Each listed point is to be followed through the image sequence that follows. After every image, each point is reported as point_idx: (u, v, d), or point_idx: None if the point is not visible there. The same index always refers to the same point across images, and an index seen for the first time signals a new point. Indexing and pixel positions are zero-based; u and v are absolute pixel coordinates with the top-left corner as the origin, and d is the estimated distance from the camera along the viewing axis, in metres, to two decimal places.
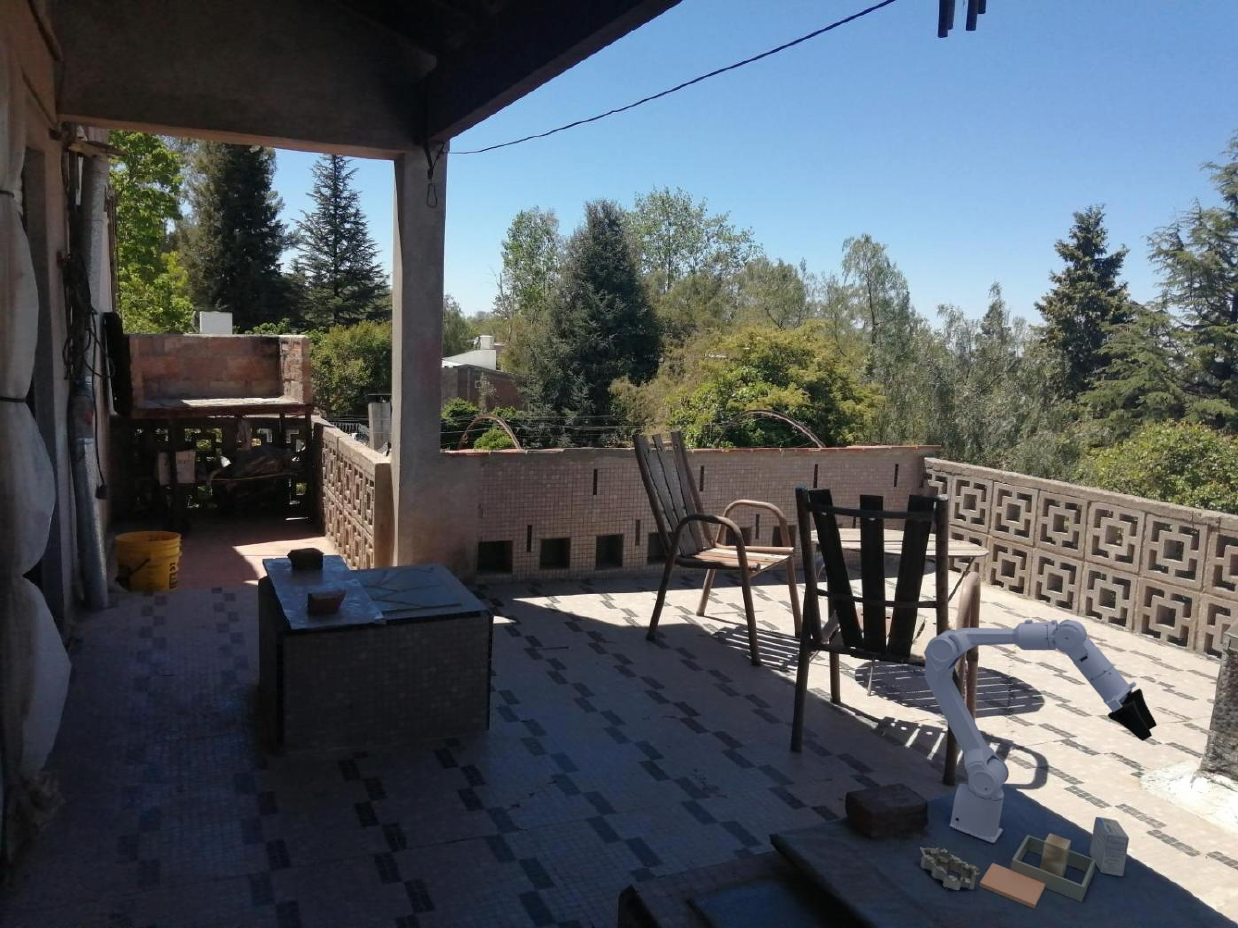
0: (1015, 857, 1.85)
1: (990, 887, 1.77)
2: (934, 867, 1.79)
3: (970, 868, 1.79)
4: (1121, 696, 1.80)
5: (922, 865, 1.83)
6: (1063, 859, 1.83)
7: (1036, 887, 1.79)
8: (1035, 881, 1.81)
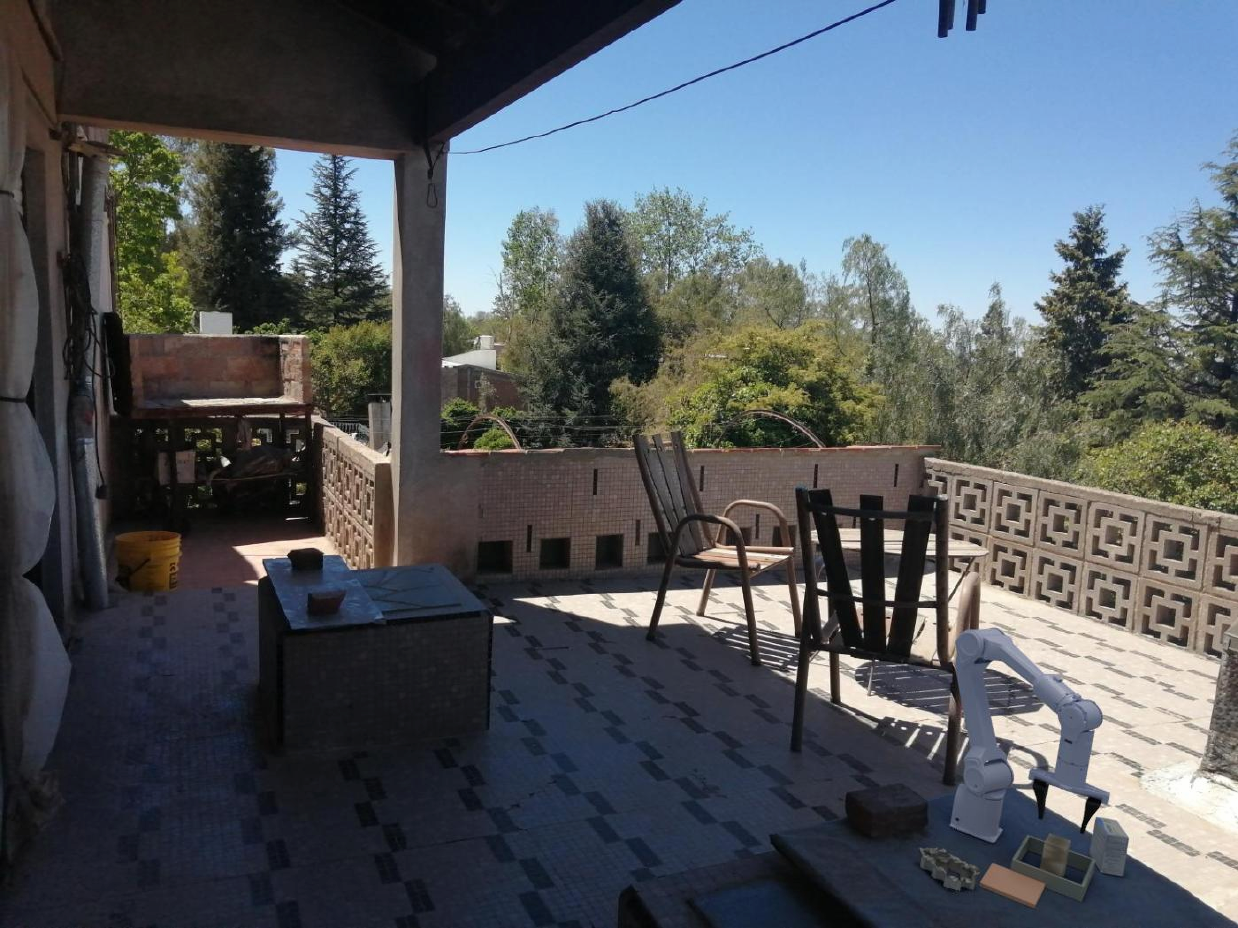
0: (1015, 857, 1.85)
1: (990, 887, 1.77)
2: (934, 867, 1.79)
3: (970, 868, 1.79)
4: (1042, 777, 1.85)
5: (922, 865, 1.82)
6: (1063, 859, 1.83)
7: (1036, 887, 1.79)
8: (1035, 881, 1.81)
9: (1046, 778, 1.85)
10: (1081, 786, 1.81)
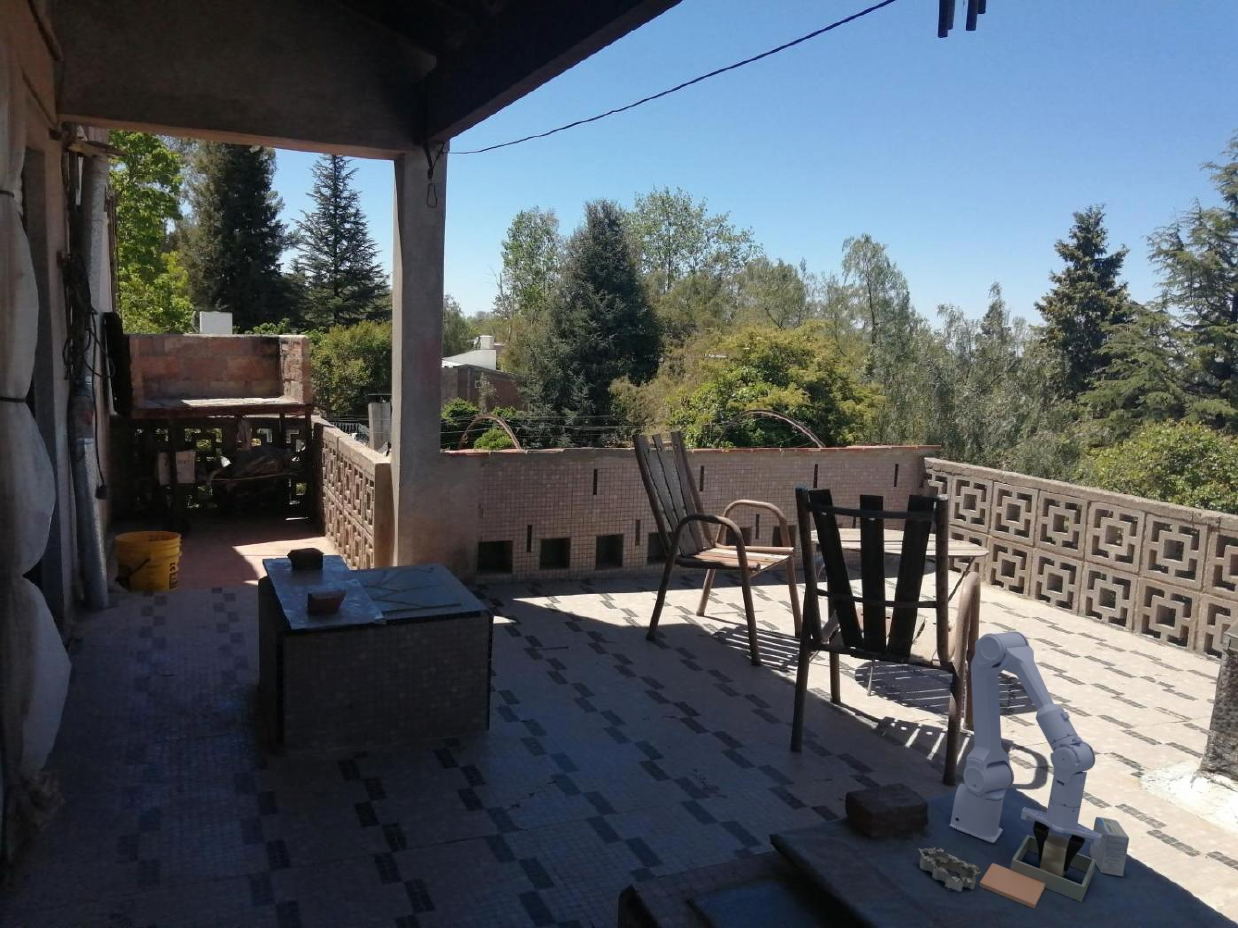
0: (1015, 857, 1.85)
1: (990, 887, 1.77)
2: (935, 868, 1.79)
3: (970, 867, 1.79)
4: (1034, 817, 1.86)
5: (921, 866, 1.82)
6: (1063, 859, 1.83)
7: (1036, 887, 1.79)
8: (1035, 881, 1.81)
9: (1038, 818, 1.86)
10: (1073, 827, 1.82)
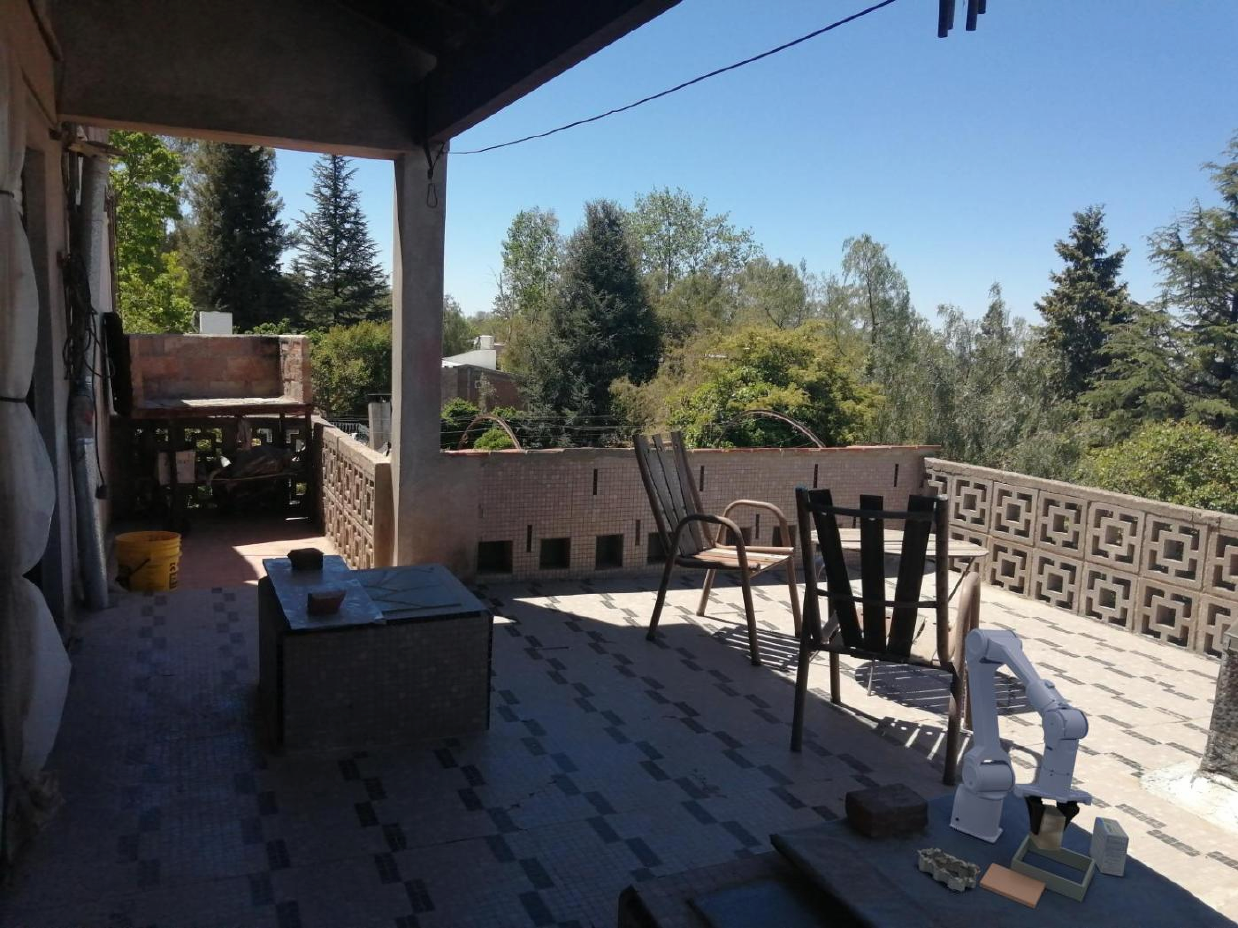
0: (1015, 857, 1.85)
1: (990, 887, 1.77)
2: (936, 870, 1.78)
3: (969, 866, 1.79)
4: (1033, 793, 1.80)
5: (921, 868, 1.81)
6: (1062, 827, 1.80)
7: (1036, 887, 1.79)
8: (1035, 881, 1.81)
9: (1037, 793, 1.80)
10: (1069, 793, 1.80)
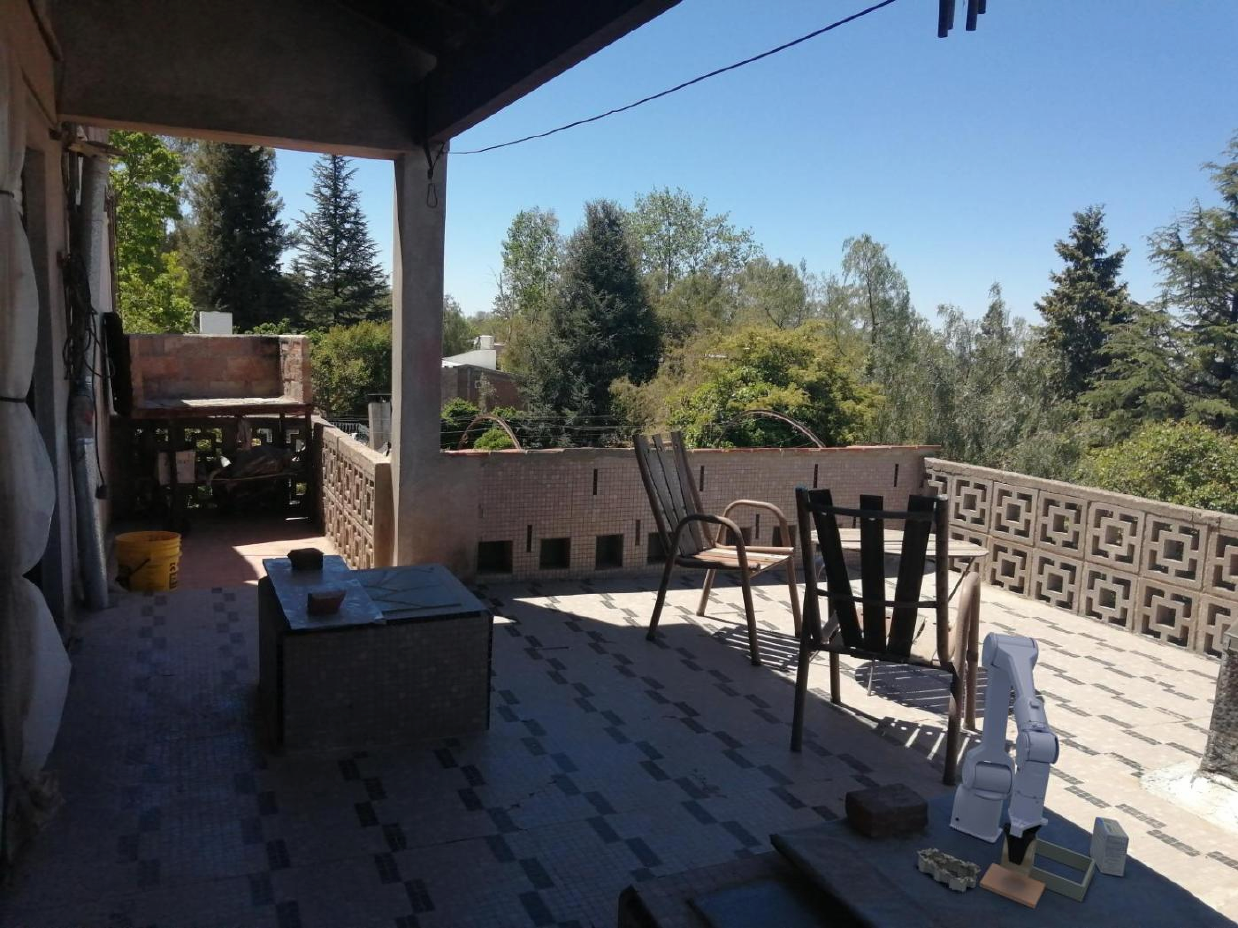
0: None
1: (990, 887, 1.77)
2: (937, 870, 1.78)
3: (969, 866, 1.79)
4: (1028, 827, 1.73)
5: (921, 869, 1.81)
6: (1035, 846, 1.78)
7: (1036, 887, 1.79)
8: (1035, 881, 1.81)
9: (1030, 825, 1.73)
10: None
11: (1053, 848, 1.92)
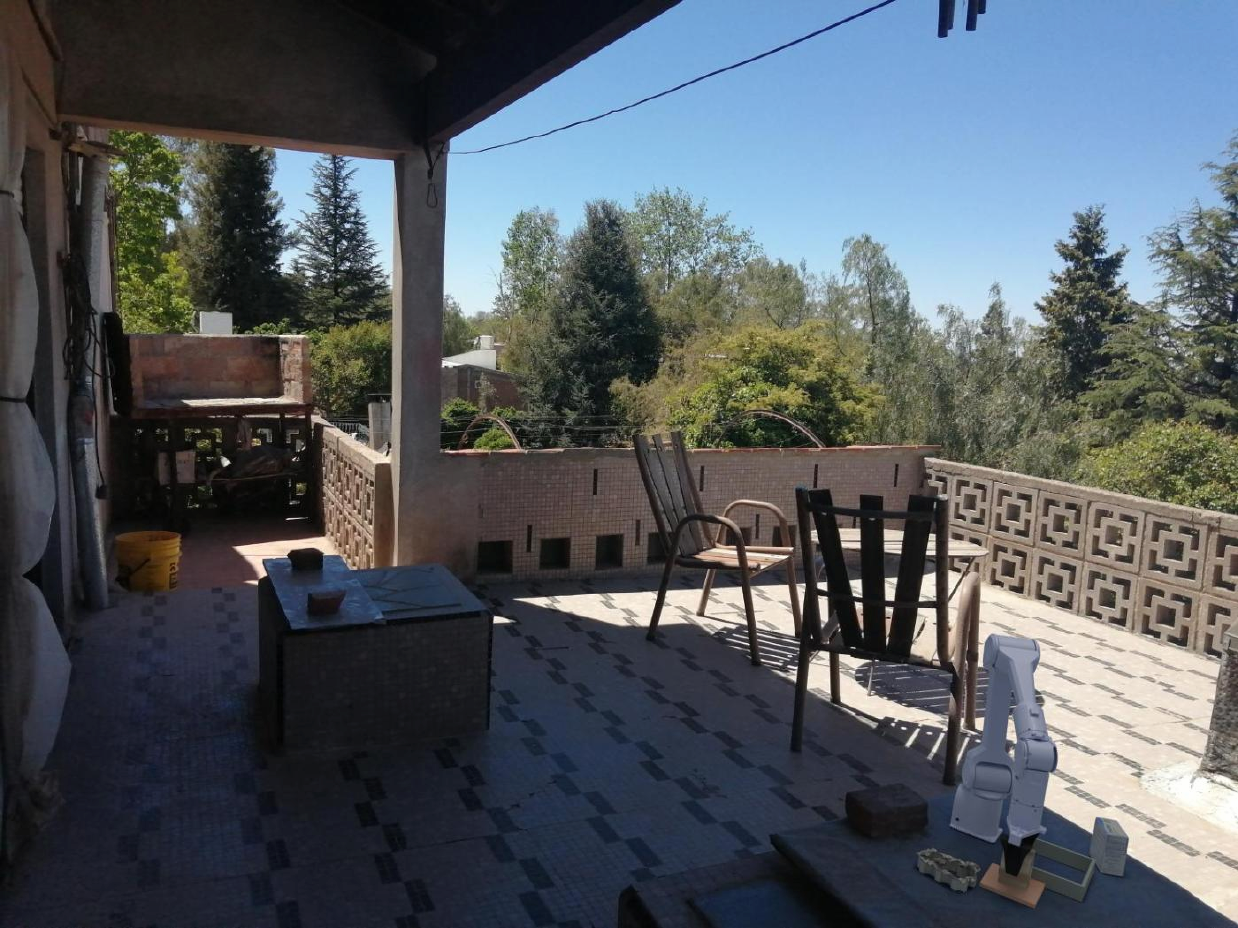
0: None
1: (990, 887, 1.77)
2: (938, 871, 1.78)
3: (969, 865, 1.80)
4: (1026, 835, 1.73)
5: (921, 870, 1.81)
6: None
7: (1036, 887, 1.79)
8: (1035, 881, 1.81)
9: (1029, 833, 1.74)
10: None
11: (1053, 848, 1.92)
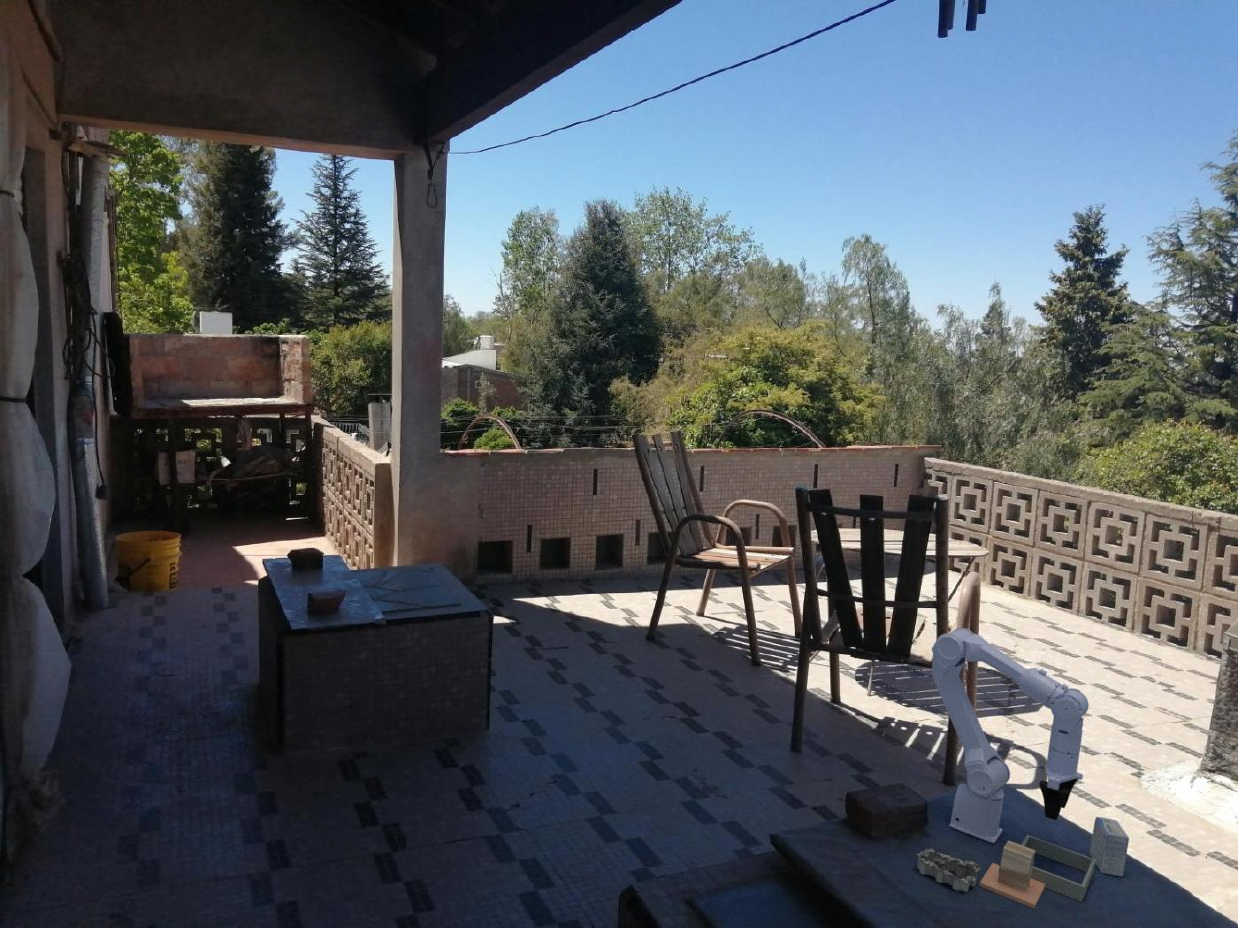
0: None
1: (990, 887, 1.77)
2: (939, 872, 1.78)
3: (968, 864, 1.80)
4: (1064, 780, 1.86)
5: (922, 872, 1.80)
6: None
7: (1036, 887, 1.79)
8: (1035, 881, 1.81)
9: (1066, 778, 1.86)
10: None
11: (1053, 848, 1.92)
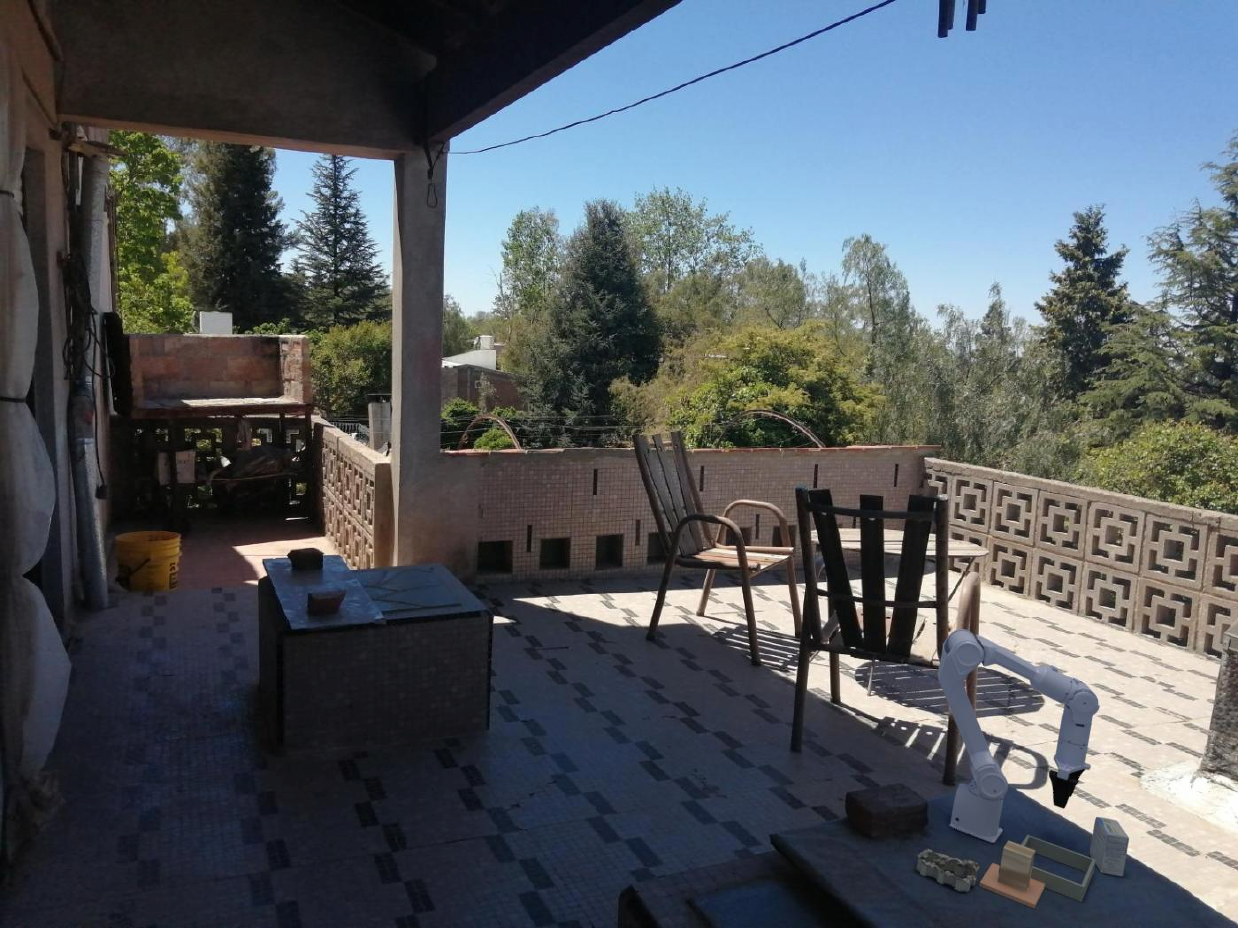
0: None
1: (990, 887, 1.77)
2: (941, 873, 1.77)
3: (967, 864, 1.80)
4: (1073, 770, 1.91)
5: (923, 873, 1.80)
6: None
7: (1036, 887, 1.79)
8: (1035, 881, 1.81)
9: (1075, 769, 1.92)
10: None
11: (1053, 848, 1.92)
